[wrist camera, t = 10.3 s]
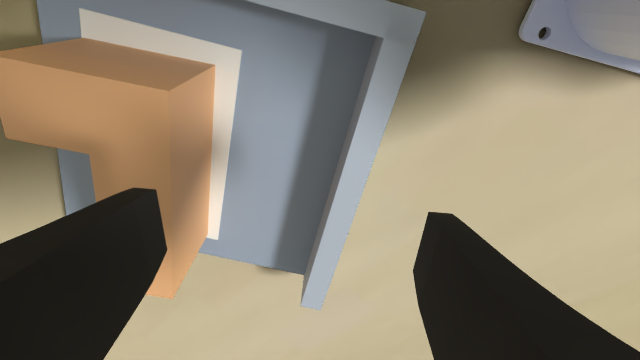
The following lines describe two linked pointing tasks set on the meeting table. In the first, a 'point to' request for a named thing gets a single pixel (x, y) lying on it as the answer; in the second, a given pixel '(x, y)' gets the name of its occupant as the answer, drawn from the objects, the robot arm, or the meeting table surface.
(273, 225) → the board
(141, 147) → the bracket
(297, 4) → the walls
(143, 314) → the meeting table surface
